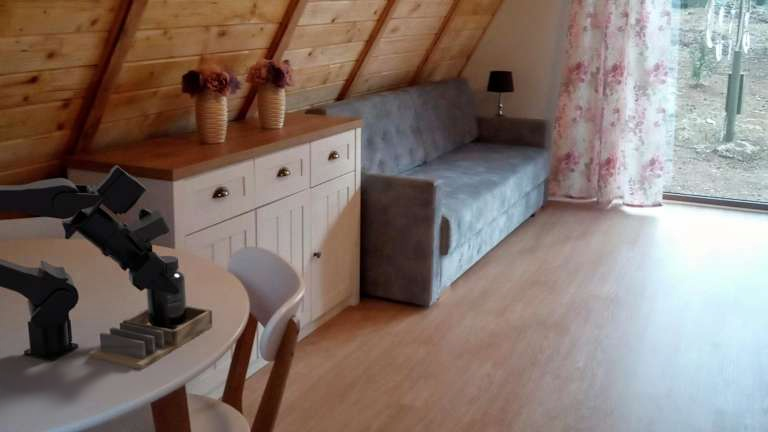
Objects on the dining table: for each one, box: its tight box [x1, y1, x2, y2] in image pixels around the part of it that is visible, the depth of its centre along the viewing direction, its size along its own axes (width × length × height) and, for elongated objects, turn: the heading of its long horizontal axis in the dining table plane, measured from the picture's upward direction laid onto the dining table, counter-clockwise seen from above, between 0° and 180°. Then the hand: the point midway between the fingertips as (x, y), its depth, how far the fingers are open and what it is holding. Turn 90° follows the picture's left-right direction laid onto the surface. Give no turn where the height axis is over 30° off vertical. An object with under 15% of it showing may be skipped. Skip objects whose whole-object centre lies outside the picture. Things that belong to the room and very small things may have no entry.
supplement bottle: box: [146, 255, 187, 328], centre depth 150 cm, size 7×7×12 cm
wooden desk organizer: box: [88, 305, 213, 370], centre depth 148 cm, size 20×11×4 cm, turn 157°
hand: (173, 286), depth 151 cm, fingers closed on supplement bottle, 7 cm apart
